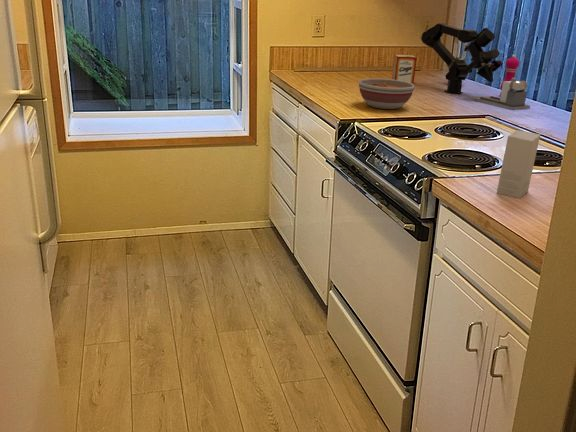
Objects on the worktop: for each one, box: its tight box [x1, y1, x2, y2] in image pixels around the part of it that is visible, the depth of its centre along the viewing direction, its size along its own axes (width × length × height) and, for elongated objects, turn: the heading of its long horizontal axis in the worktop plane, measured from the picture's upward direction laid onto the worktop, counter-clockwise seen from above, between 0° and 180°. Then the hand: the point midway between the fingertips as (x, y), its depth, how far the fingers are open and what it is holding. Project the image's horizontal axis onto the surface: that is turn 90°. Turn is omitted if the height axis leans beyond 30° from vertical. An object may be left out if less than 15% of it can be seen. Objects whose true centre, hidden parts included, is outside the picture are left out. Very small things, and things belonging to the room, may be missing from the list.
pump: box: [499, 77, 517, 103], centre depth 275 cm, size 4×6×11 cm
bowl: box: [358, 78, 415, 110], centre depth 258 cm, size 23×23×10 cm
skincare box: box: [496, 129, 541, 199], centre depth 159 cm, size 8×7×16 cm
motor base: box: [472, 80, 531, 111], centre depth 278 cm, size 22×12×12 cm, turn 32°
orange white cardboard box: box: [391, 54, 418, 85], centre depth 303 cm, size 10×6×16 cm
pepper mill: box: [499, 54, 520, 98], centre depth 295 cm, size 7×7×20 cm
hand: (491, 82), depth 282 cm, fingers closed
